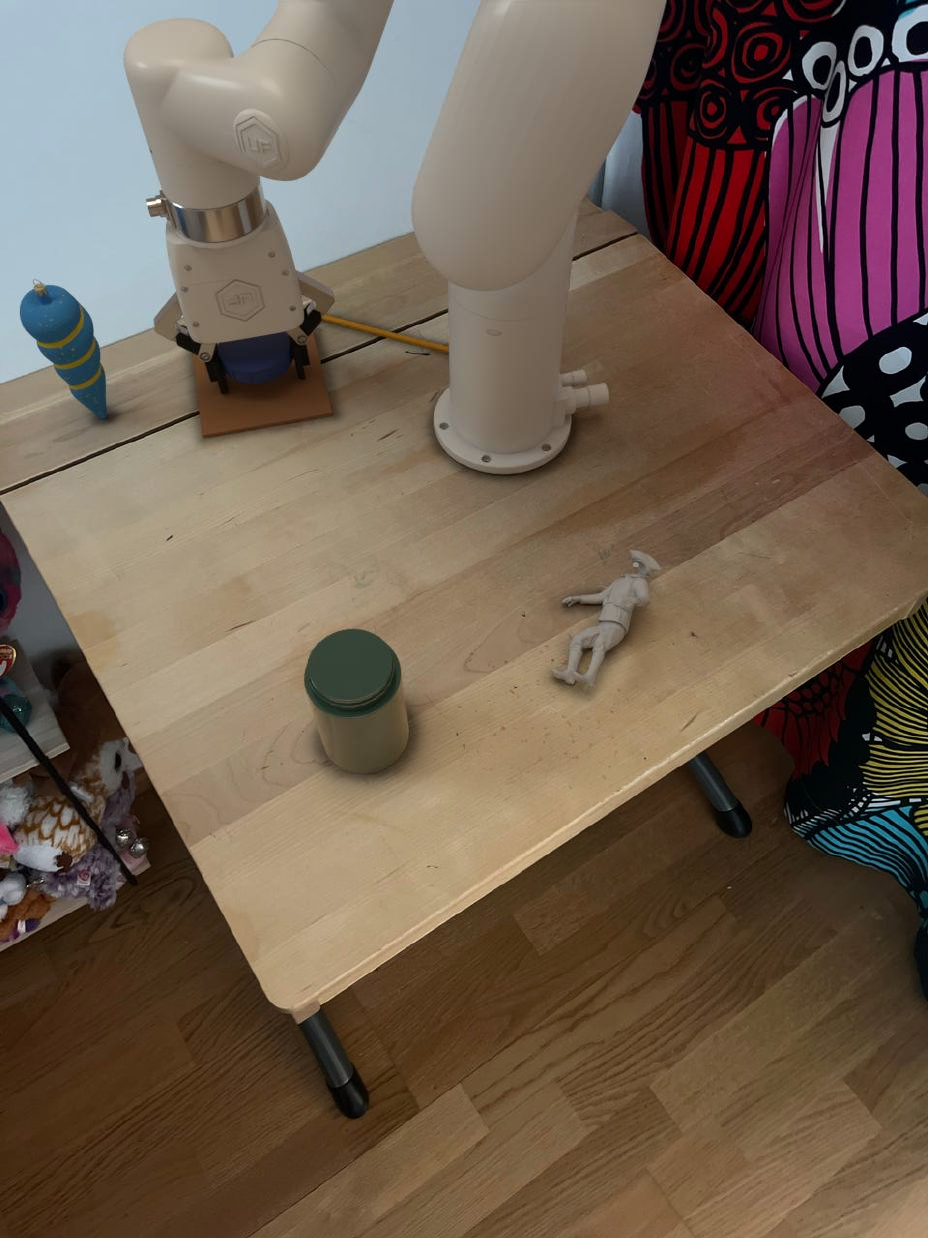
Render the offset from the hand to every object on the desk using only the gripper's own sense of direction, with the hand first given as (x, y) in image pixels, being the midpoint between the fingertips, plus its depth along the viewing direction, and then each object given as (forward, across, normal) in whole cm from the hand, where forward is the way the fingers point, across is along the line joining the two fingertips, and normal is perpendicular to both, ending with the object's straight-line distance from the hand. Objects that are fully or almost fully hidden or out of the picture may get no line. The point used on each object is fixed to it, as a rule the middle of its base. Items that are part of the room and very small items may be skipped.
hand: (262, 375), depth 87 cm
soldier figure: (+1, +23, -35) cm, 42 cm away
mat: (+1, 0, 0) cm, 1 cm away
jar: (+1, +3, -39) cm, 39 cm away
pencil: (+1, +13, +4) cm, 14 cm away
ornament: (+1, -15, -1) cm, 15 cm away
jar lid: (-3, 0, 0) cm, 3 cm away
